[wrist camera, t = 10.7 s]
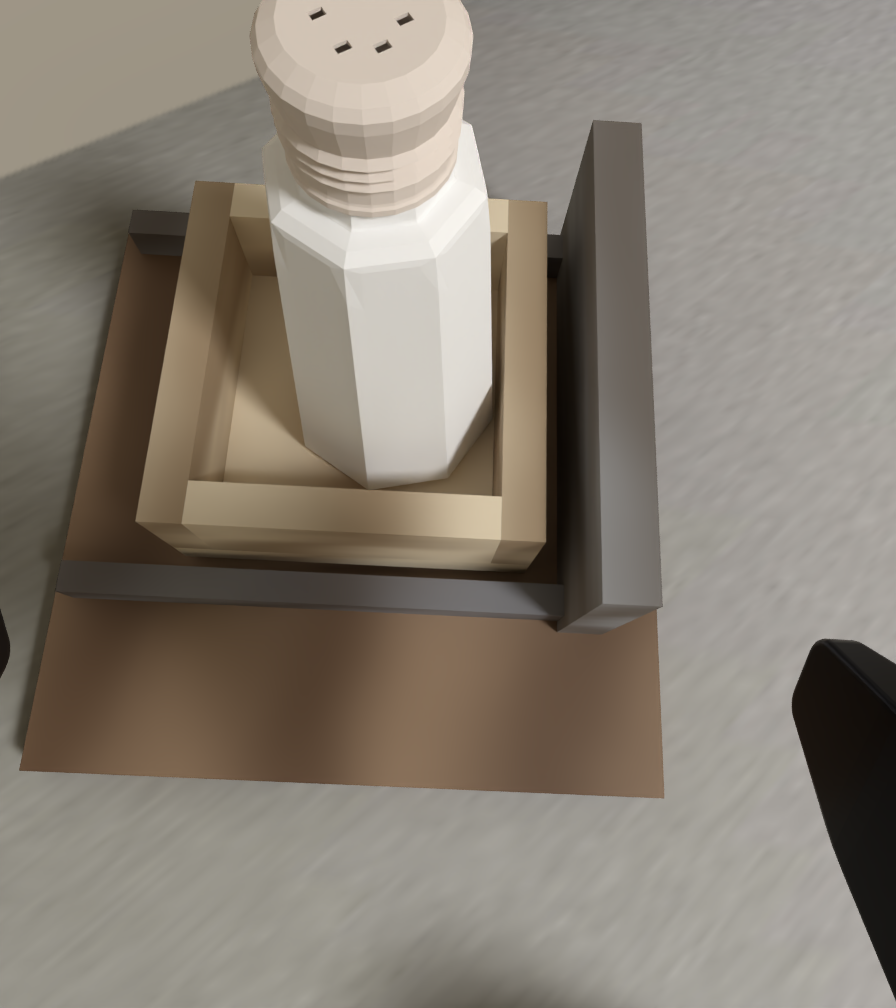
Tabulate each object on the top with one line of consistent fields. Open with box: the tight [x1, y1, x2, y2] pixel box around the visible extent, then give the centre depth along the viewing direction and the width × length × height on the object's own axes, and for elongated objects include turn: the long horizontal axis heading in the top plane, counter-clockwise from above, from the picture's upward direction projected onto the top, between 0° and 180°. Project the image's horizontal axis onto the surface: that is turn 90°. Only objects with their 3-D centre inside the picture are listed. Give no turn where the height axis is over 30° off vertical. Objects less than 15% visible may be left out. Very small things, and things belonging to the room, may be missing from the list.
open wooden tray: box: [19, 120, 664, 798], centre depth 18 cm, size 16×16×6 cm
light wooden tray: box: [135, 181, 547, 573], centre depth 19 cm, size 9×9×4 cm
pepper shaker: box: [250, 0, 492, 490], centre depth 14 cm, size 5×5×11 cm
